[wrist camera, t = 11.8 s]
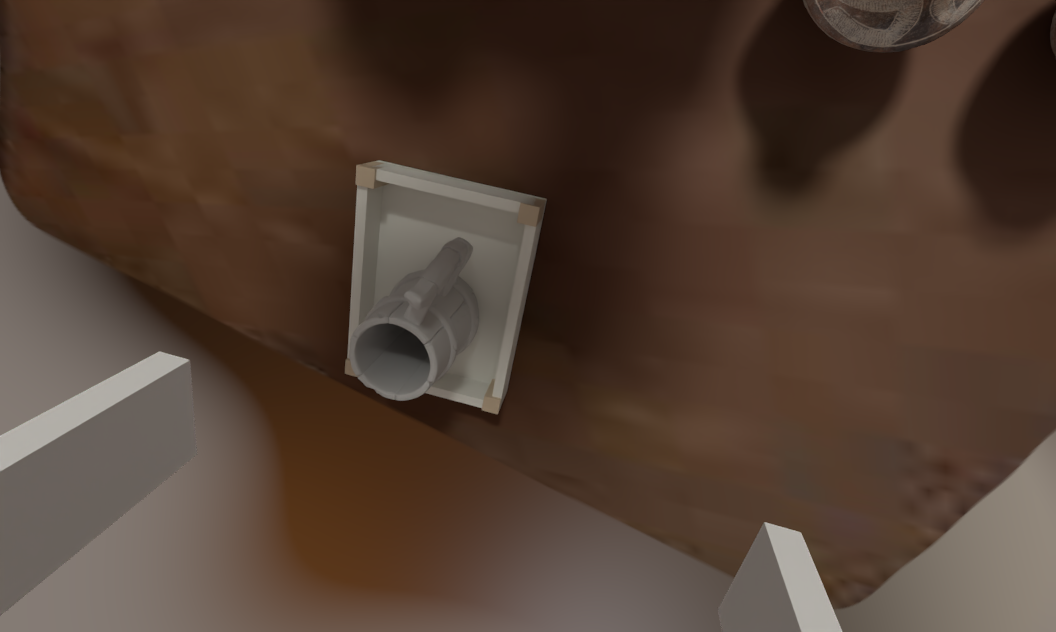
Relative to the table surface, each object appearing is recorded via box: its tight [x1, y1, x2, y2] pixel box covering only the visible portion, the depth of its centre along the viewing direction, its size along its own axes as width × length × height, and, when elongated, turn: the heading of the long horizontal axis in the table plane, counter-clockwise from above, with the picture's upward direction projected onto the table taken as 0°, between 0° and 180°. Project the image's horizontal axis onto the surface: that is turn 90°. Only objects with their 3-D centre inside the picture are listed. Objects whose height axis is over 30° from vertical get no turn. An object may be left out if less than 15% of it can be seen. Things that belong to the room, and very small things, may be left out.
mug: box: [349, 237, 479, 401], centre depth 37 cm, size 8×12×12 cm, turn 153°
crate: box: [345, 160, 547, 414], centre depth 42 cm, size 18×14×4 cm
